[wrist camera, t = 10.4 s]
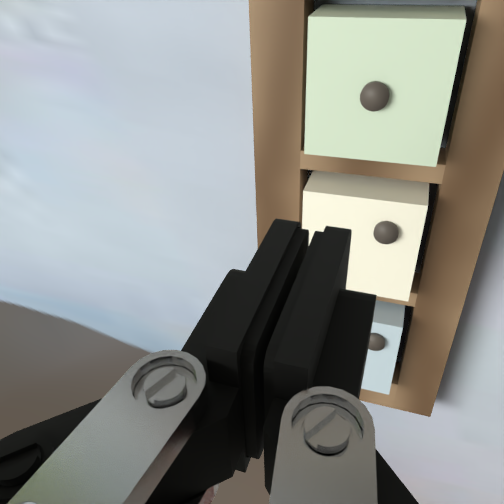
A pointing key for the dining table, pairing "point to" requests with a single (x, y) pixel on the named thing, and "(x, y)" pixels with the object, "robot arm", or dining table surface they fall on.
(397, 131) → the pale green drawer
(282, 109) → the wooden compartment tray
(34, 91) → the dining table surface
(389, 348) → the pale blue drawer
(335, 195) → the cream drawer
